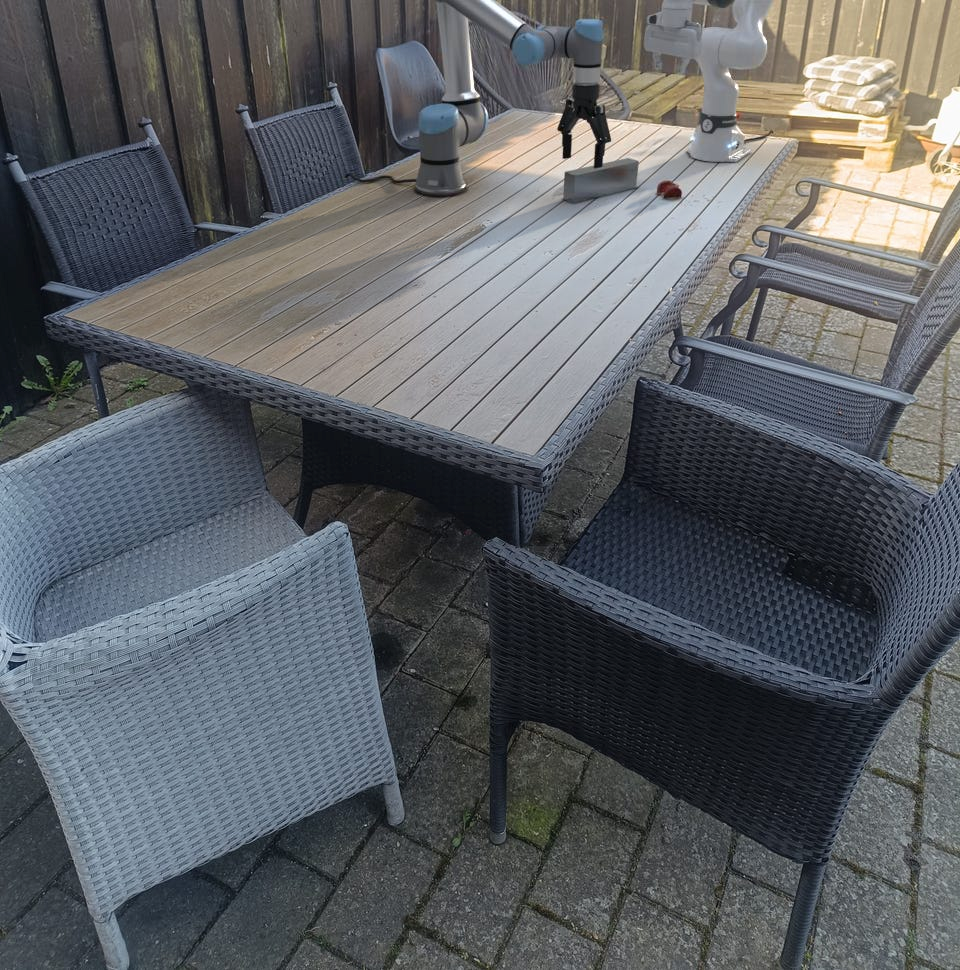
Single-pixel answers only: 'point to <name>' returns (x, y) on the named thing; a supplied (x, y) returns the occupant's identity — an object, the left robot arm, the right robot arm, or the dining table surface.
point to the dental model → (669, 189)
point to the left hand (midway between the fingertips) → (582, 162)
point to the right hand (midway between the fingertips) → (669, 71)
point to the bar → (600, 180)
